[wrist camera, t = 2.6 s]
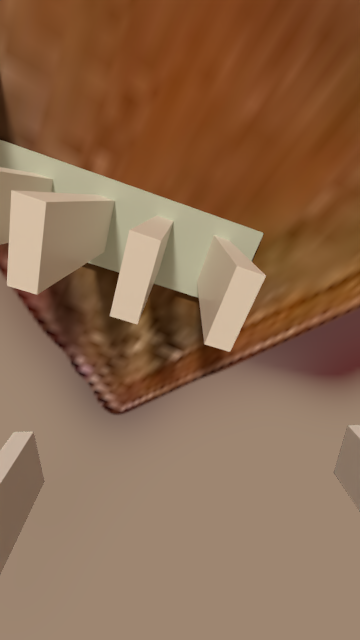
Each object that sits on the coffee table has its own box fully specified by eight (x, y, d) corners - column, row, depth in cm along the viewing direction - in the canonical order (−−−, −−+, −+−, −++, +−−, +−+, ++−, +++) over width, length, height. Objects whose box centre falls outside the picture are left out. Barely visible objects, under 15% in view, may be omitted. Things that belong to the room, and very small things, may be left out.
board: (-79, 111, 28) (-89, 108, 27) (261, 232, 32) (263, 233, 31) (-72, 209, 32) (-80, 209, 31) (229, 305, 36) (231, 308, 35)
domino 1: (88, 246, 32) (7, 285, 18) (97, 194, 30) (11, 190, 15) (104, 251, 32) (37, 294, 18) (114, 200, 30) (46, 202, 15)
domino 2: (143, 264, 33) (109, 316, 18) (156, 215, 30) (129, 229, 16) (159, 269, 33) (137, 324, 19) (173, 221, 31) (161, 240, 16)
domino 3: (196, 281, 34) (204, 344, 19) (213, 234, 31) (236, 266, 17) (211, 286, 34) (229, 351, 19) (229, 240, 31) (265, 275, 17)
